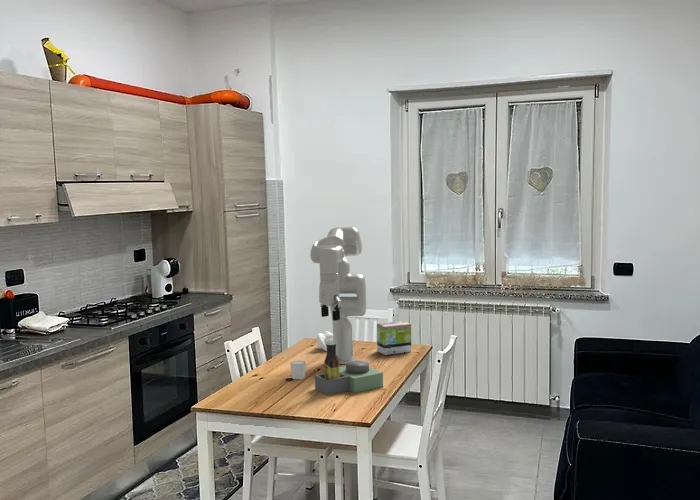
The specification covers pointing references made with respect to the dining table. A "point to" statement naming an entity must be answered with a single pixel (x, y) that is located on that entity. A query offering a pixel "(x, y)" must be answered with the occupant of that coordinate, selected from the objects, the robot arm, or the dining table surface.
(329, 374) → the sauce bottle
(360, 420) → the dining table surface
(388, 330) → the tea box
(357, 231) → the robot arm
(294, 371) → the shot glass
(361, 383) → the grey and green blocks
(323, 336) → the white knot sculpture
